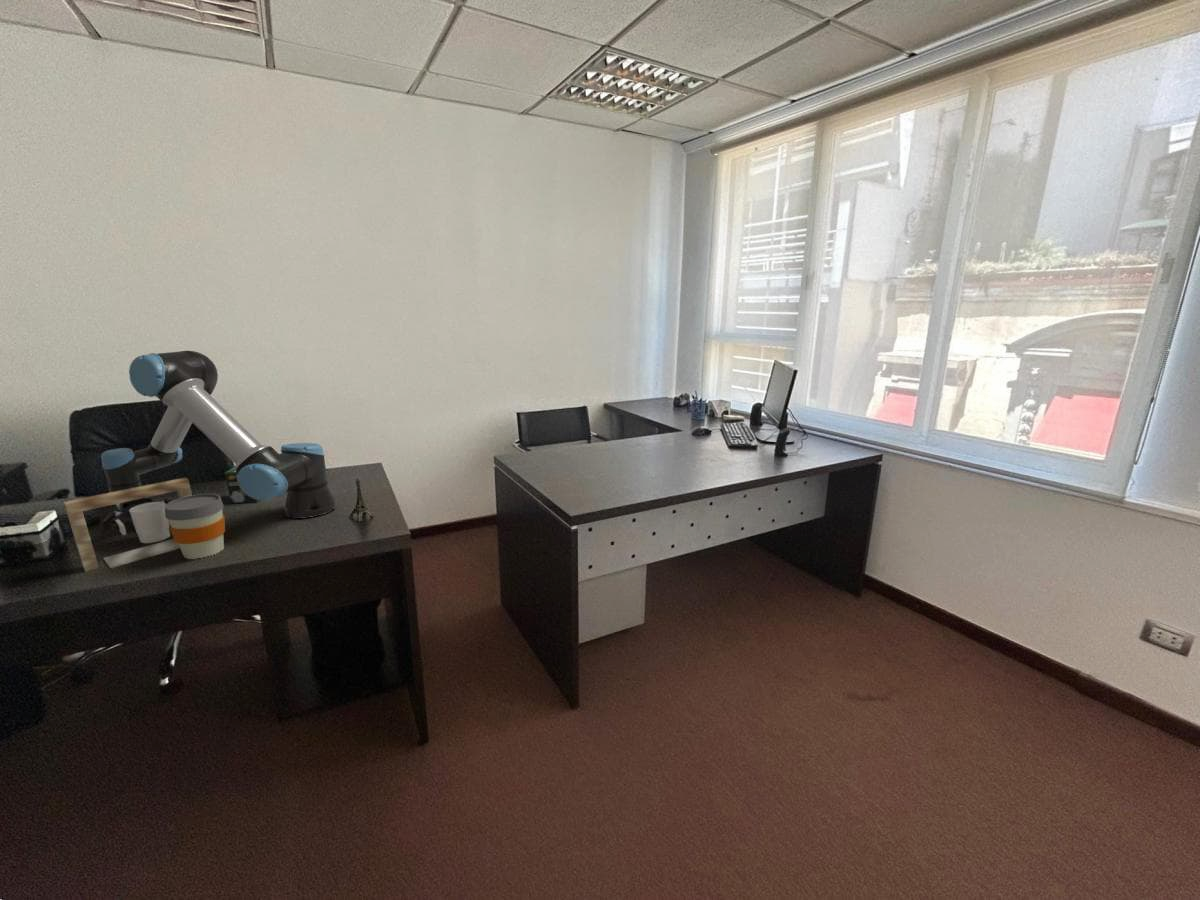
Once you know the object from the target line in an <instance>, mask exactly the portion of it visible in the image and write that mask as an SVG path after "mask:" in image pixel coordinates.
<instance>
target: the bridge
mask: <svg viewBox="0 0 1200 900" xmlns="http://www.w3.org/2000/svg"><path fill="white" fill-rule="evenodd" d="M173 492H177V493H176V494H177V497H178V498H177V499H179V498H182V497H186V496H191V495H193V493H192V489H191V485H190V480H189V479H188V478H187V477H181V478H175V479H171V480H167V481H166V480H165V481H161V482H157V483H156V482H155V483H151V484H145V485H141V486H140V487H135V488H130V489H126V490H121V491H116V492H111V493H109V492H106V493H101V494H96V495H91V496H87V497H81V498H76V499H71V500H67V501H63V505H64V508H65V512H66V515H67V517H68V521H69V525H70V527H71V531H72V534H73V535H72V536H73V538H74V541H75V544H76V548H77V551H78V555H79V558H80V561H81V565H82V569H83V570H84V572H90V571H94V570H97V569H99V567H100V566H99V564H98V560H97V557H96V553H95V550H94V546H93V543H92V538H91V536H90V533H89V528H88V526H87V525H88V524H87V521H86V518H85V516H84V511H89V510H93V509H94V510H95V509H98V508H99V509H100V508H103V507H104V508H105V507H108V506H113V505H114V504H118V503H123V502H128V501H132V500H137V499H142V498H146V497H149V498H151V497H155V496H156V497H157V496H160V495H163V494H169V493H173ZM114 506H115V505H114ZM179 549H180V546H179V544H178V543H177V542H175V540H174V538H172V539H168V540H163V541H159V542H156V543H154V544H153V543H152V544H149V545H145V546H143V547H142V546H141V547H139V548H136V549H131V550H128V551H124V552H120V553H116V554H113V555H110V556H109V555H108V556H105V557H103V560H104V562H105V563H106V565H107V566H108V567H109V569H113V568H117V567H120V566H124V565H127V564H131V563H134V562H137V561H140V560H144V559H148V558H151V557H155V556H158V555H162V554H166V553H169V552H173V551H177V550H179ZM180 550H181V549H180Z"/></svg>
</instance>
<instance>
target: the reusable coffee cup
mask: <svg viewBox="0 0 1200 900" xmlns="http://www.w3.org/2000/svg"><path fill="white" fill-rule="evenodd" d="M223 510H224V504H223V501H222V498H221V495H220V494H216V493H199V494H192V495H191V496H186V497H182V498H177V499H173V500H172V501H171V502H169V503H167V504H166V505H165V517H166V518H167V519H168V522H169V531H170V532H171V535H172V537H173V539H174V540H175V542H177V543H178V544H179V546H180V551H181V553H182V555H183V558H185V559H186V558H187V560H198V559H197V558H201V559H204V558H203V557H206V558H208V557H207V556H209V557H211V556H210V555H212V556H214V555H213V554H215V555H217V554H219V553H220V551H221V550H222V551H223V550H224V549H225V542H224V540H225V539H224V533H225V532H226V520H225V518H226V517H225V514H223V513H224V511H223ZM222 551H221V552H222ZM218 552H219V553H218ZM216 553H217V554H216Z"/></svg>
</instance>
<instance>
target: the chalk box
mask: <svg viewBox="0 0 1200 900" xmlns="http://www.w3.org/2000/svg"><path fill="white" fill-rule="evenodd" d="M235 468H236V466H235V467H234V466H233V467H232V468H230V469H228V470H226V471H225V472H224V477H225V483H226V486H227V491H228V495H229V500H230V503H231V504H235V503H245V504H246V503H259V502H260V501H261V500H256V499H253V498H251V497H249V496H248V495H246V494H245V493H244V492H243V491H242V490H241V488H240V487H239V484H240V483H239V482H238V481H237V476H238V473H236V471H235Z"/></svg>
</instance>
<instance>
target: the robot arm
mask: <svg viewBox="0 0 1200 900" xmlns="http://www.w3.org/2000/svg"><path fill="white" fill-rule="evenodd" d="M128 374H129V380H130V382H131V383H130V384H131V386H132V387H133V388H134V389H135V391H136V392H137V393H138V394H140V395H141V396H144V397H150V398H153V397H156V398H157V399H158V400H159V401H161V403H162V404H163V405H165V406H167V408H166V411H165V412H164V414H163V415H162V419H161V421H160V423H159V424H158V426H157V428H156V431H155V433H154V435H153V436H152V439H151V441H150V443H149V445H148V446H147V447H146V448H143V449H138V450H133V449H131V448H128V447H123V448H122V447H120V448H114V449H108V450H105V451H103V452H102V453H101V454H100V455H101V456H100V457H101V464H102V465H101V467H102V469H103V471H104V475H105V478H106V481H107V486H108V490H109V492H108V493H111V492H116V491H121V490H126V489H130V488H135V487H140V486H142V483H141V479H140V475H143V474H145V473H149V472H151V471H155V470H158V469H161V468H162V469H163V468H166V467H168V466H172V465H173V464H175V463H178V462H181V460H182V459H183V449H182V448H181V446H182V443H183V441H184V440H185V437H186V436H187V433H189V429H190V428H191V425H192V424H193V425H194V426H195V427H196V428H197V429H198V430H200V431H201V433H203V434H204V435H205V437H207V438H208V439H209V440H210V441H211V442H212V443H213V444H214V445H216V447H218V449H220V451H221V452H223V454H225V455H226V456H227V457H228V458H229V459H230V460H231V461H232V462H233V463H234V464H235V467H236V468H235V471H236V473H238V476H237V481H238V482H239V483H240V484H239V487H240V488H241V490H242V491H243V492H244V493H245V494H246V495H248V496H249V497H251V498H253V499H256V500H260V501H269V500H273V499H276V498H279V497H282V496H284V494H286V493H287V495H286V501H285V505H284V512H285V516H286V515H287V516H286V517H288V516H289V517H288V518H290V517H294V518H293V519H297V518H300V517H309V516H315V515H319V514H322V513H325V512H328V511H330V510H332V509H333V508H334V507H335V506H336V505H337V499H336V497H334V495H333V493H332V491H331V489H330V487H329V484H328V483H329V482H328V477H327V469H326V462H325V461H326V460H325V454H324V449H323V447H322V445H320V444H319V443H313V442H296V443H286V444H283V445H282V446H281V448H280V452H281V453H278V451H276V449H274V448H273V447H272V446H271V445H262V444H261V443H260V441H258V440H257V439H256V438H255V437H254V436H253V435H252V434H251V433H250V432H249V431H248V430H247V429H246V428H245V427H244V426H243V425H242V424H241V423H239V421H238V420H237V419H236V418H234V417H233V416H232V415H231V413H229V412H228V411H227V409H225V408H224V407H223V406H222V405H221V404H220V403H219V402H217V400H216V399H215V398H214V397H213V396H211V395H212V394H213V393H214V390H215V388H216V386H217V384H218V378H219V377H218V375H219V374H218V369H217V367H216V365H215V363H214V362H213V361H212V360H211V359H210V358H209V357H208V356H207V355H205V354H203V353H201V352H198V351H193V350H181V351H170V352H159V353H155V352H152V353H148V354H142V355H139V356H137V357H135V358H134V359H133V360H132V361H131V363H130V366H129V369H128ZM171 501H173V500H171V499H168V498H163V499H162V500H161V502H164V503H165V505H166V504H167V503H169V502H171ZM151 502H154V500H152V499H151V497H146V498H142V499H137V500H132V501H128V502H123V503H118V504H114V506H116V507H117V509H118V510H119V511H117V510H109V511H108V514H107V515H106V516H105V517H104V518H103V519H102V520H101V521H100V522H99V524H100V527H101V529H102V531H104V532H106V531H107V530H109V529H111V531H112V532H118V531H119V533H120V534H121V535H122V536H125V535H127V530H126V527H125V525H124V524H126V523H127V522H128V521H129V522H130V521H132V518H131V515H130V512H129V510H130V509H131V508H132V507H135V506H137V505H141V504H145V503H151Z"/></svg>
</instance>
